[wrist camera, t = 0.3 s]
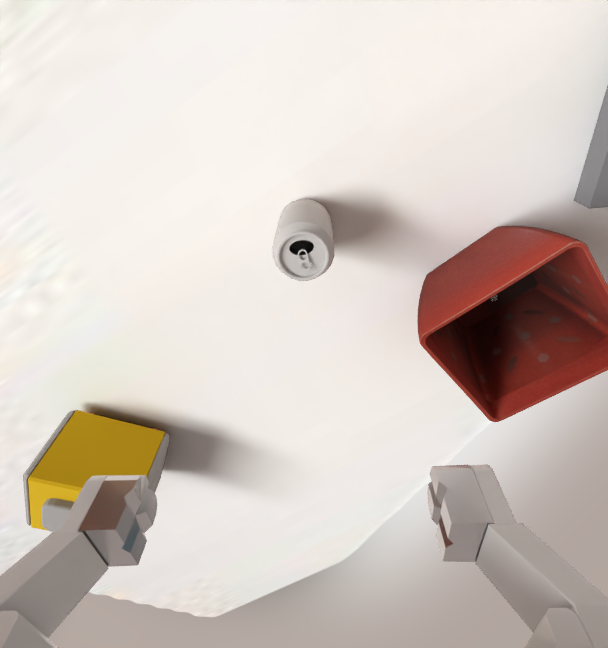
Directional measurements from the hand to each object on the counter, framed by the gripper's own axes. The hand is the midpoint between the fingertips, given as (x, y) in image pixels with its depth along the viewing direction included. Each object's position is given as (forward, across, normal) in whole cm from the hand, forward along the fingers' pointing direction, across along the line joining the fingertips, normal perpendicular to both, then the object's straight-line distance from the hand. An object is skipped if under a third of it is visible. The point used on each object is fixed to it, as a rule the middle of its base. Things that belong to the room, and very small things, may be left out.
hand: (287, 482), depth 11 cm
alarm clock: (+47, +43, +52) cm, 82 cm away
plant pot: (+47, -25, +19) cm, 57 cm away
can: (+47, +1, +8) cm, 48 cm away
